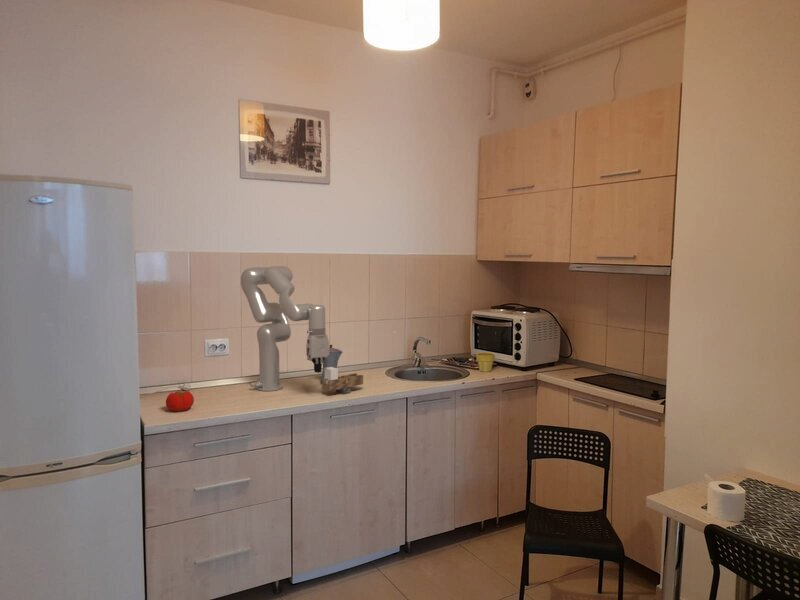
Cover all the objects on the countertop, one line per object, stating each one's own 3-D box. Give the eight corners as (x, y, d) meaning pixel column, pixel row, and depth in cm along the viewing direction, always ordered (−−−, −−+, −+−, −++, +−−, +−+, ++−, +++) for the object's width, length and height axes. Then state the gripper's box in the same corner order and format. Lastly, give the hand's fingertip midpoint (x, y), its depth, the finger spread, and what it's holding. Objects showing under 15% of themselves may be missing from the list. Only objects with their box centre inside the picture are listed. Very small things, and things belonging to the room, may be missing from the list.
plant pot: (484, 368, 321) (484, 351, 320) (498, 371, 313) (498, 354, 312) (472, 370, 314) (472, 353, 313) (485, 373, 306) (486, 356, 306)
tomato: (196, 405, 235) (195, 388, 235) (190, 413, 224) (189, 395, 224) (170, 406, 234) (169, 389, 233) (162, 414, 223) (162, 396, 222)
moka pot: (339, 386, 273) (339, 346, 271) (310, 384, 276) (310, 345, 274) (345, 381, 282) (345, 343, 281) (317, 380, 285) (317, 342, 284)
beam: (329, 397, 251) (330, 381, 251) (321, 394, 256) (321, 379, 255) (363, 390, 265) (363, 375, 265) (355, 387, 270) (355, 373, 269)
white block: (330, 385, 252) (330, 369, 252) (324, 383, 256) (324, 367, 255) (337, 384, 255) (337, 368, 254) (331, 382, 259) (331, 366, 258)
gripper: (308, 334, 240) (308, 375, 241) (335, 331, 250) (336, 370, 251) (298, 332, 245) (299, 373, 247) (325, 329, 256) (326, 368, 257)
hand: (317, 372), depth 249 cm, fingers closed
